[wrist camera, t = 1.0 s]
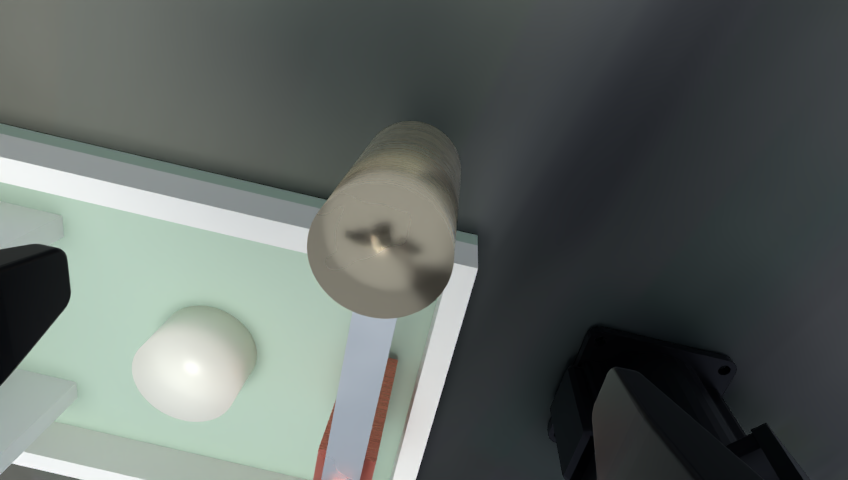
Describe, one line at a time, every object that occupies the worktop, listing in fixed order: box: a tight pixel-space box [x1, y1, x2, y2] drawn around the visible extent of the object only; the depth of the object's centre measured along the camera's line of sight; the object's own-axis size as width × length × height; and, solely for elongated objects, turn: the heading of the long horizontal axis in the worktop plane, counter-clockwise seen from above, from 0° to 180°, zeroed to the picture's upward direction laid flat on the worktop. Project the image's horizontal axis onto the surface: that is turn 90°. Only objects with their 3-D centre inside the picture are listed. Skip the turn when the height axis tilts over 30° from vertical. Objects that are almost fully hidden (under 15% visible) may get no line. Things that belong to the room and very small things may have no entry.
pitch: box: [0, 123, 478, 480], centre depth 22 cm, size 22×16×6 cm
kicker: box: [307, 121, 461, 480], centre depth 19 cm, size 3×22×9 cm, turn 168°
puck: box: [132, 306, 257, 422], centre depth 23 cm, size 4×4×2 cm
